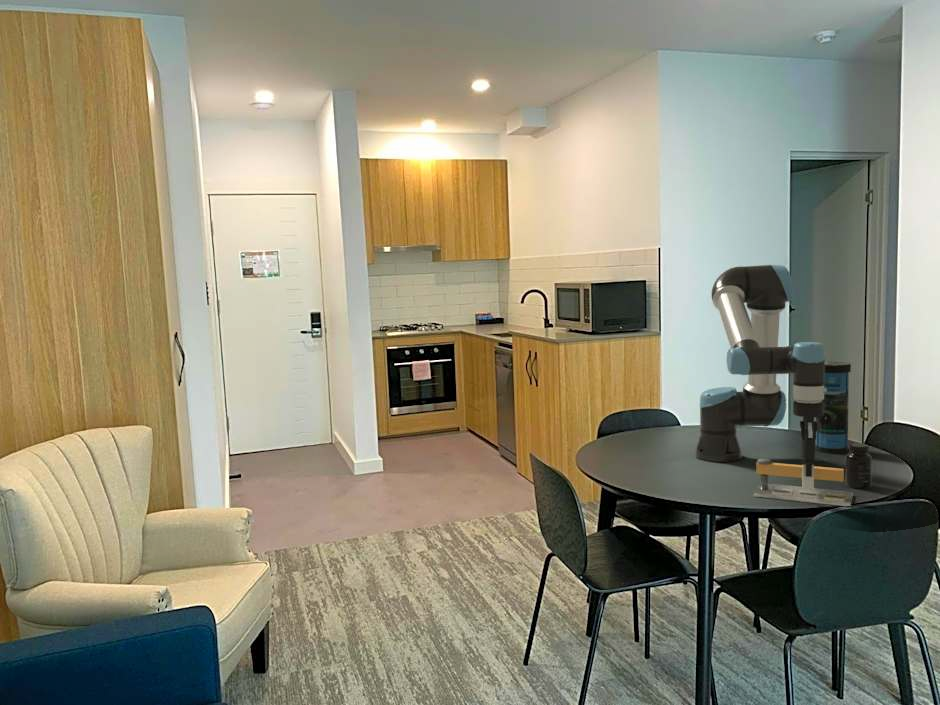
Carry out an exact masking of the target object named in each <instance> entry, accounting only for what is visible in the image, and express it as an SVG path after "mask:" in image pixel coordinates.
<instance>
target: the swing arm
mask: <svg viewBox="0 0 940 705" xmlns="http://www.w3.org/2000/svg"><path fill="white" fill-rule="evenodd" d="M755 470H756V471H755V472H756V474H757V475H761V474H766V475H768V476H775V477H776V476H778V477H779V476H780V477H786V478H787V477H788V478H789V477H790V478H798V479H799V478H800V479H802V464H792V463H791V464H790V463H780V462H772V460H771V459H769V458H758V459H757V461H756V468H755ZM844 470H845V469H844V468H839V467H824V466H815V465H814V480H821V481H833V482H842V483H843V482H844V481H845V480H844V479H845V471H844Z"/></svg>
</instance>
